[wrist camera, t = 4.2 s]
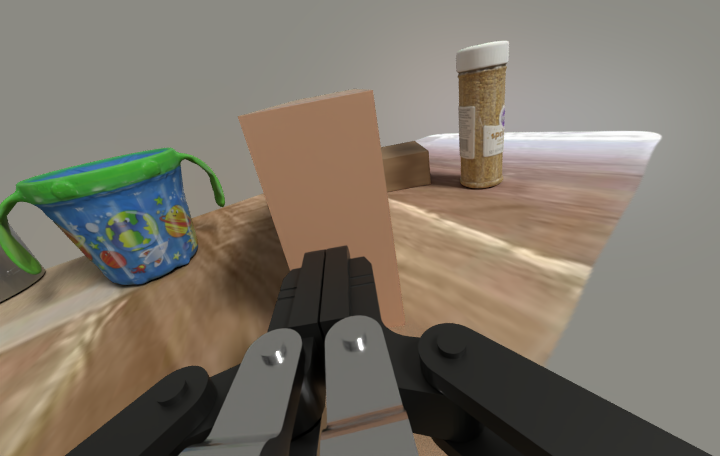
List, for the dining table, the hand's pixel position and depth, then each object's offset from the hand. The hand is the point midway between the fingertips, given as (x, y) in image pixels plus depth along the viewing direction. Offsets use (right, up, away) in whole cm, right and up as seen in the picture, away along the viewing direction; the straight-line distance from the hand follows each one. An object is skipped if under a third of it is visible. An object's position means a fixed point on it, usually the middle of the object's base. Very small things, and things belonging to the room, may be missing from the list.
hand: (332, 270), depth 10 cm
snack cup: (-18, -2, +18) cm, 26 cm away
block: (+1, -1, +13) cm, 13 cm away
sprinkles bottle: (+15, +6, +23) cm, 28 cm away
